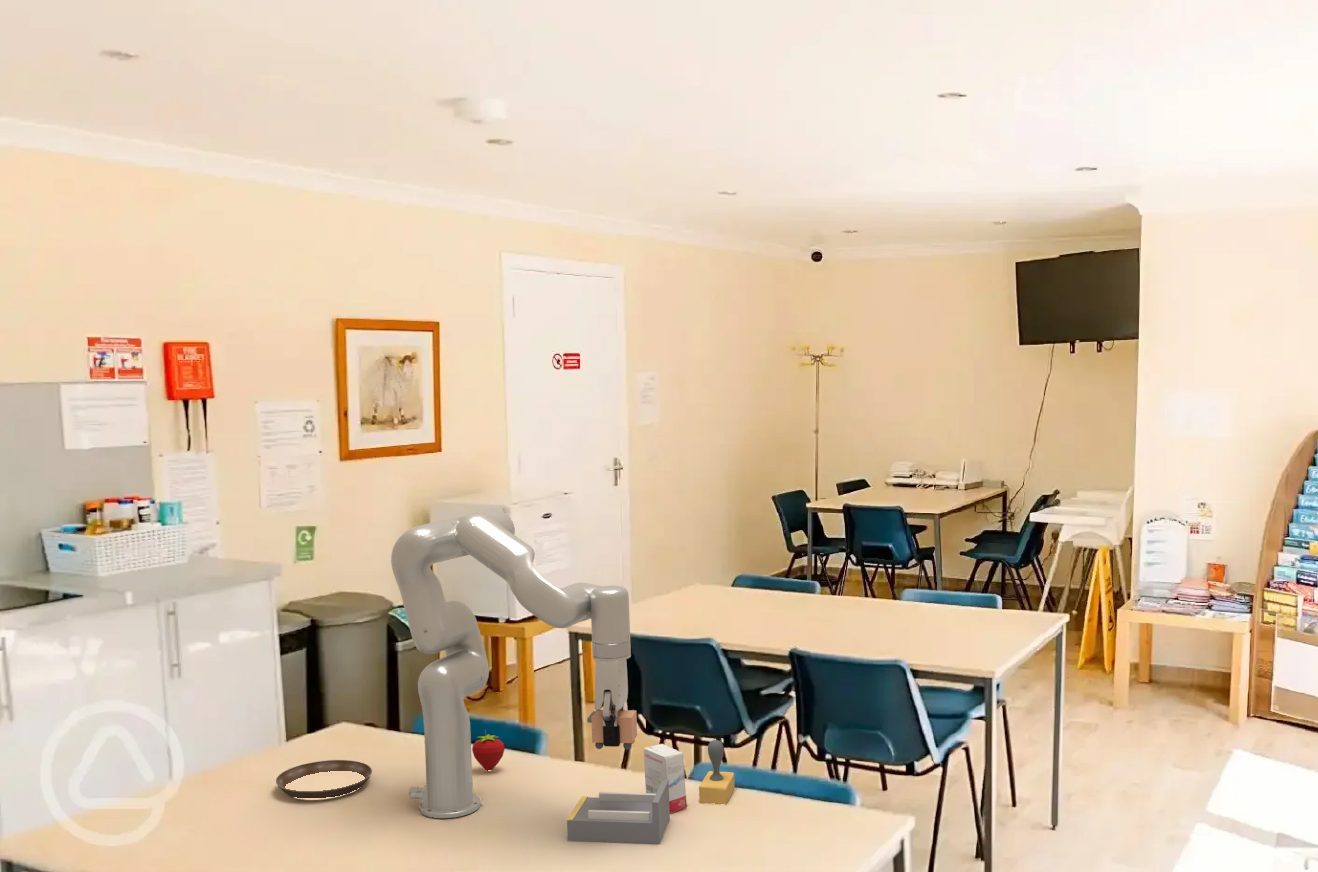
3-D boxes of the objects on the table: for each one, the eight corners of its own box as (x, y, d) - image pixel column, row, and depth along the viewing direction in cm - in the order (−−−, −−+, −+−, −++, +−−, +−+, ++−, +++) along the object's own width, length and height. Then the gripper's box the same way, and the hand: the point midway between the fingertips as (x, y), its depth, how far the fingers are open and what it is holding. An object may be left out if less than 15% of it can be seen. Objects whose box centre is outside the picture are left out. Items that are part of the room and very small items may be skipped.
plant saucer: (392, 782, 256) (391, 767, 256) (320, 812, 238) (319, 796, 238) (329, 768, 267) (328, 754, 267) (256, 795, 250) (255, 781, 249)
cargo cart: (588, 750, 221) (587, 717, 220) (594, 742, 225) (592, 710, 225) (632, 750, 219) (631, 717, 219) (637, 743, 224) (636, 710, 224)
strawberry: (501, 776, 257) (500, 733, 256) (469, 776, 257) (467, 732, 257) (508, 768, 262) (507, 725, 262) (477, 767, 263) (475, 725, 263)
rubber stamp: (708, 787, 246) (707, 732, 245) (734, 788, 244) (733, 733, 244) (699, 803, 236) (697, 746, 236) (726, 805, 235) (724, 748, 234)
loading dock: (567, 841, 218) (566, 800, 218) (582, 816, 230) (581, 777, 230) (659, 844, 215) (658, 802, 215) (669, 819, 227) (668, 780, 227)
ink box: (687, 809, 233) (686, 752, 232) (667, 815, 230) (665, 757, 229) (664, 797, 240) (662, 742, 240) (644, 803, 237) (642, 747, 237)
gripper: (602, 640, 231) (605, 728, 231) (582, 659, 214) (586, 755, 214) (638, 640, 229) (641, 729, 230) (621, 660, 213) (625, 755, 213)
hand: (614, 740), depth 222 cm, fingers closed on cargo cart, 5 cm apart
